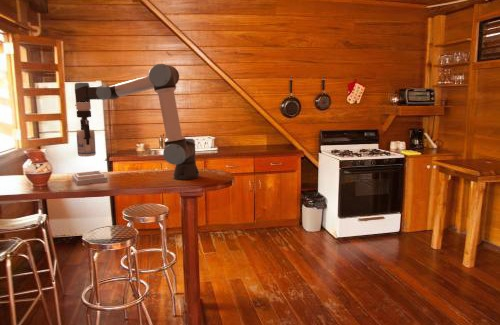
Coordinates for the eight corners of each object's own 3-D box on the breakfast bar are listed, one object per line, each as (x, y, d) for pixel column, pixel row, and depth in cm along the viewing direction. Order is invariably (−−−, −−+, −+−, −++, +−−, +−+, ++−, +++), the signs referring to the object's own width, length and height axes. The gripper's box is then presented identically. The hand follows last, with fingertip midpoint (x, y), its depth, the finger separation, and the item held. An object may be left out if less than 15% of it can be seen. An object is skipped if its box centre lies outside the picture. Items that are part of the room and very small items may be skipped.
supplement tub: (74, 156, 222) (72, 130, 220) (86, 154, 231) (84, 129, 229) (87, 157, 219) (85, 131, 216) (99, 154, 227) (97, 129, 225)
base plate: (107, 181, 223) (107, 174, 222) (77, 185, 215) (76, 178, 214) (100, 176, 240) (100, 169, 239) (72, 179, 232) (72, 172, 231)
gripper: (73, 109, 228) (76, 147, 232) (79, 110, 209) (82, 152, 213) (87, 109, 232) (90, 147, 236) (94, 110, 213) (97, 151, 217)
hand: (86, 149), depth 224 cm, fingers closed on supplement tub, 9 cm apart
